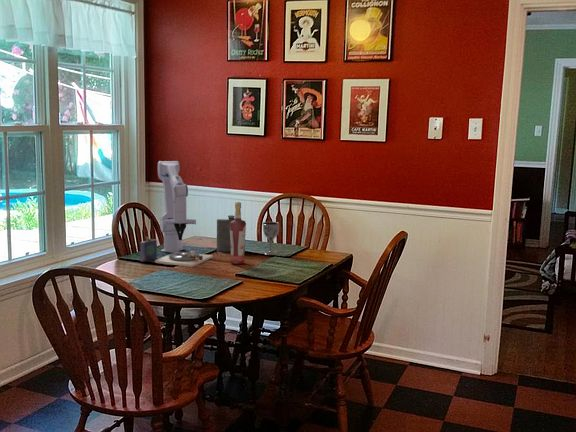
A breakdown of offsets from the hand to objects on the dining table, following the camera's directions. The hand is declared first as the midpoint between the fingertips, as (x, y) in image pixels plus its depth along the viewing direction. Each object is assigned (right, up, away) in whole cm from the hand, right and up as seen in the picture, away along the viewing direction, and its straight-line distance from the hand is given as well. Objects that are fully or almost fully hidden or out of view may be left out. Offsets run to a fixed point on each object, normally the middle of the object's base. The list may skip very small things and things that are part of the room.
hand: (180, 239), depth 281 cm
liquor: (+27, -11, -4) cm, 29 cm away
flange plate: (+3, -8, -1) cm, 9 cm away
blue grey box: (-14, -9, -1) cm, 17 cm away
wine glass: (+41, -8, +18) cm, 46 cm away
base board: (+2, -9, 0) cm, 10 cm away
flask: (+22, -7, +20) cm, 30 cm away
